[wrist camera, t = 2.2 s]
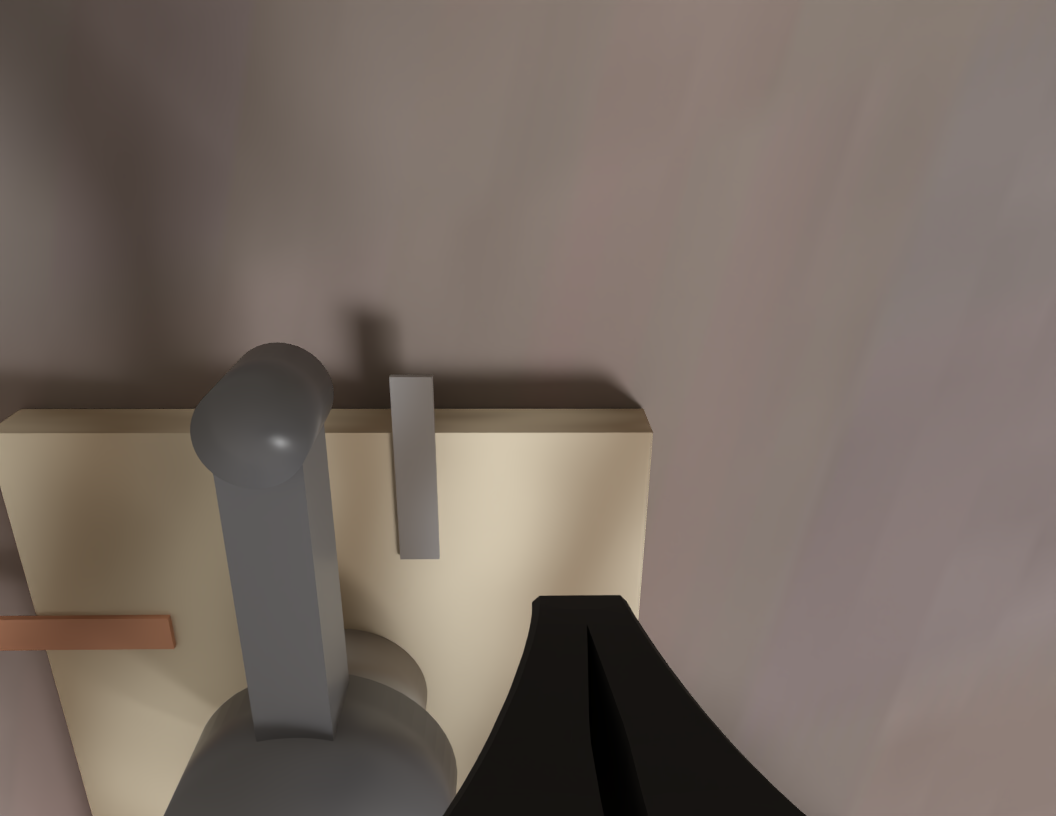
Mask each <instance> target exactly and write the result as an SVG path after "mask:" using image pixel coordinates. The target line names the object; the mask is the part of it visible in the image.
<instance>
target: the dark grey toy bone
mask: <svg viewBox="0 0 1056 816" xmlns="http://www.w3.org/2000/svg"><path fill="white" fill-rule="evenodd" d="M333 398H334V391H333V385H332V381H331V378H330V376H329V374H328V372H327V370H326V369H325V367H324V366H323V365H322V363H321V362H320V361H319V360H318V359H317V358H316V357H315V356H313V355H312V354H311V353H309V352H308V351H306V350H304V349H302V348H300V347H298V346H295V345H291V344H286V343H268V344H263V345H260V346H257V347H255V348H253V349H251V350H250V351H248V352H247V353H246V354H245V355H243V356H242V357H241V358H240V360H239V361H238V362H237V363H236V364H235V365H234V366H233V367H232V368H231V369H230V370H229V371H228V372H227V373H226V374H225V375H224V377H223V378H222V379H221V380H220V381H219V382H218V383H217V384H216V385H215V386H214V387H213V388H212V389H211V390H210V391H209V393H208V394H207V395H206V396H205V397H204V398H203V399H202V400H201V401H200V403H199V404H198V405H197V407H196V409H195V410H194V413H193V415H192V419H191V423H190V435H191V441H192V445H193V447H194V450H195V452H196V454H197V456H198V458H199V459H200V460H201V462H202V463H203V464H204V465H205V467H206V468H207V469H208V470H209V471H211V472H212V473H213V476H214V482H215V488H216V495H217V501H218V507H219V513H220V519H221V526H222V532H223V538H224V544H225V550H226V556H227V563H228V569H229V575H230V581H231V587H232V594H233V600H234V606H235V612H236V618H237V625H238V631H239V637H240V643H241V649H242V655H243V662H244V668H245V674H246V680H247V686H248V687H247V688H245V689H243V690H242V691H240V692H238V693H237V694H235V695H234V696H232V697H231V698H230V699H228V700H227V701H226V702H225V703H223V704H222V705H221V706H220V707H219V708H218V710H217V711H216V712H215V713H214V714H213V715H212V716H211V718H210V719H209V721H208V722H207V724H206V725H205V727H204V729H203V732H202V734H201V736H200V738H199V740H198V742H197V745H196V747H195V749H194V751H193V753H192V755H191V757H190V760H189V762H188V764H187V766H186V768H185V770H184V773H183V775H182V777H181V779H180V781H179V783H178V786H177V788H176V790H175V792H174V794H173V796H172V799H171V801H170V803H169V805H168V807H167V809H166V811H165V814H164V816H443V815H444V813H445V811H446V810H447V808H448V807H449V805H450V804H451V802H452V801H453V799H454V797H455V796H456V786H457V766H456V759H455V755H454V752H453V749H452V746H451V744H450V742H449V740H448V738H447V736H446V734H445V733H444V731H443V730H442V728H441V727H440V725H439V724H438V723H437V722H436V720H435V719H434V718H433V717H432V716H431V715H430V714H429V713H428V712H427V711H426V710H425V709H423V708H422V707H421V706H420V705H419V704H417V703H416V702H415V701H413V700H412V699H410V698H409V697H407V696H406V695H404V694H403V693H401V692H399V691H397V690H395V689H393V688H391V687H389V686H387V685H384V684H381V683H379V682H376V681H373V680H370V679H367V678H363V677H359V676H355V675H350V674H349V673H348V663H347V653H346V643H345V633H344V622H343V612H342V602H341V592H340V582H339V571H338V561H337V551H336V541H335V530H334V520H333V510H332V500H331V490H330V479H329V469H328V459H327V449H326V439H325V428H324V422H325V420H326V419H327V417H328V415H329V413H330V410H331V408H332V404H333Z"/></svg>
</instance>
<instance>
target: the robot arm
mask: <svg viewBox="0 0 1056 816" xmlns="http://www.w3.org/2000/svg"><path fill="white" fill-rule="evenodd" d="M443 816H806V815H805V814H804V813H802V812H801V811H800V810H799V809H798V808H797V807H796V806H795V805H794V804H792V803H791V802H790V801H789V800H788V799H787V798H786V797H785V796H784V795H783V794H782V793H781V792H779V791H778V790H777V789H776V788H775V787H774V786H773V785H772V784H771V783H770V782H769V781H768V780H767V779H766V778H765V777H764V776H763V775H762V774H761V773H760V772H759V771H758V770H757V769H756V768H755V767H754V766H753V765H752V764H751V763H750V762H749V761H748V760H747V759H746V758H745V757H744V756H743V755H742V754H741V753H740V752H739V750H738V749H737V748H736V747H735V746H734V745H733V744H732V743H731V742H730V741H729V740H728V738H727V737H726V736H725V735H724V734H723V733H722V732H721V730H720V729H719V728H718V727H717V726H716V725H715V723H714V722H713V721H712V720H711V719H710V718H709V717H708V715H707V714H706V713H705V712H704V711H703V709H702V708H701V707H700V706H699V704H698V703H697V702H696V701H695V700H694V698H693V697H692V696H691V695H690V693H689V692H688V691H687V689H686V688H685V687H684V685H683V684H682V683H681V681H680V680H679V679H678V677H677V676H676V675H675V674H674V672H673V671H672V670H671V668H670V667H669V666H668V664H667V663H666V661H665V660H664V659H663V657H662V656H661V654H660V653H659V651H658V650H657V649H656V647H655V646H654V644H653V643H652V641H651V640H650V638H649V637H648V635H647V634H646V632H645V631H644V629H643V628H642V626H641V624H640V623H639V621H638V620H637V618H636V616H635V615H634V613H633V611H632V610H631V608H630V606H629V604H628V603H627V601H626V600H625V599H624V598H623V597H622V596H621V595H549V596H539V597H537V598H536V599H535V600H534V601H533V602H532V616H531V623H530V628H529V632H528V637H527V640H526V644H525V647H524V651H523V654H522V657H521V660H520V663H519V666H518V668H517V671H516V674H515V677H514V679H513V682H512V685H511V688H510V690H509V693H508V695H507V698H506V700H505V702H504V704H503V706H502V709H501V711H500V713H499V715H498V717H497V720H496V722H495V724H494V726H493V728H492V731H491V733H490V735H489V737H488V739H487V741H486V743H485V745H484V747H483V749H482V750H481V752H480V754H479V756H478V758H477V760H476V762H475V764H474V765H473V767H472V769H471V771H470V772H469V774H468V776H467V777H466V779H465V781H464V783H463V784H462V786H461V788H460V789H459V791H458V793H457V794H456V796H455V797H454V799H453V801H452V802H451V804H450V805H449V807H448V808H447V810H446V811H445V813H444V815H443Z"/></svg>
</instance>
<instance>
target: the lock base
mask: <svg viewBox="0 0 1056 816" xmlns="http://www.w3.org/2000/svg"><path fill="white" fill-rule="evenodd" d="M389 382H390V398H391V409H331V410H330V413H329V415H328V417H327V419H326V420H325V422H324V428H325V439H326V449H327V459H328V469H329V479H330V490H331V500H332V510H333V520H334V530H335V541H336V551H337V561H338V571H339V582H340V592H341V602H342V612H343V622H344V633H345V643H346V653H347V663H348V673H349V674H350V675H355V676H359V677H363V678H367V679H370V680H373V681H376V682H379V683H381V684H384V685H387V686H389V687H391V688H393V689H395V690H397V691H399V692H401V693H403V694H404V695H406V696H407V697H409V698H410V699H412V700H413V701H415V702H416V703H417V704H419V705H420V706H421V707H422V708H423V709H425V710H426V711H427V712H428V713H429V714H430V715H431V716H432V717H433V718H434V719H435V720H436V722H437V723H438V724H439V725H440V727H441V728H442V730H443V731H444V733H445V734H446V736H447V738H448V740H449V742H450V744H451V746H452V749H453V752H454V755H455V759H456V766H457V786H456V794H457V793H458V791H459V789H460V788H461V786H462V784H463V783H464V781H465V779H466V777H467V776H468V774H469V772H470V771H471V769H472V767H473V765H474V764H475V762H476V760H477V758H478V756H479V754H480V752H481V750H482V749H483V747H484V745H485V743H486V741H487V739H488V737H489V735H490V733H491V731H492V728H493V726H494V724H495V722H496V720H497V717H498V715H499V713H500V711H501V709H502V706H503V704H504V702H505V700H506V698H507V695H508V693H509V690H510V688H511V685H512V682H513V679H514V677H515V674H516V671H517V668H518V666H519V663H520V660H521V657H522V654H523V651H524V647H525V644H526V640H527V637H528V632H529V628H530V623H531V616H532V602H533V601H534V600H535V599H536V598H537V597H539V596H549V595H621V596H622V597H623V598H624V599H625V600H626V601H627V603H628V604H629V606H630V608H631V610H632V611H633V613H634V615H635V616H636V618H637V620H638V618H639V605H640V592H641V579H642V567H643V554H644V541H645V528H646V516H647V503H648V490H649V477H650V464H651V452H652V439H653V431H652V429H651V427H650V424H649V422H648V419H647V417H646V414H645V412H644V409H434V390H433V375H390V376H389ZM194 410H195V409H20V410H19V411H17V412H16V413H14V414H13V415H11V416H10V417H8V418H7V419H6V420H4V421H3V422H1V423H0V488H1V491H2V495H3V498H4V502H5V506H6V509H7V513H8V516H9V520H10V523H11V527H12V531H13V534H14V538H15V541H16V545H17V548H18V552H19V555H20V559H21V563H22V566H23V570H24V573H25V577H26V580H27V584H28V588H29V591H30V595H31V598H32V602H33V605H34V609H35V613H36V616H0V651H4V650H46V652H47V655H48V659H49V662H50V666H51V670H52V673H53V677H54V680H55V684H56V687H57V691H58V694H59V698H60V702H61V705H62V709H63V712H64V716H65V719H66V723H67V727H68V730H69V734H70V737H71V741H72V744H73V748H74V752H75V755H76V759H77V762H78V766H79V769H80V773H81V776H82V780H83V784H84V787H85V791H86V794H87V798H88V801H89V805H90V809H91V812H92V816H164V814H165V811H166V809H167V807H168V805H169V803H170V801H171V799H172V796H173V794H174V792H175V790H176V788H177V786H178V783H179V781H180V779H181V777H182V775H183V773H184V770H185V768H186V766H187V764H188V762H189V760H190V757H191V755H192V753H193V751H194V749H195V747H196V745H197V742H198V740H199V738H200V736H201V734H202V732H203V729H204V727H205V725H206V724H207V722H208V721H209V719H210V718H211V716H212V715H213V714H214V713H215V712H216V711H217V710H218V708H219V707H220V706H221V705H222V704H223V703H225V702H226V701H227V700H228V699H230V698H231V697H232V696H234V695H235V694H237V693H238V692H240V691H242V690H243V689H245V688H247V687H248V686H247V680H246V674H245V668H244V662H243V655H242V649H241V643H240V637H239V631H238V625H237V618H236V612H235V606H234V600H233V594H232V587H231V581H230V575H229V569H228V563H227V556H226V550H225V544H224V538H223V532H222V526H221V519H220V513H219V507H218V501H217V495H216V488H215V482H214V476H213V473H212V472H211V471H209V470H208V469H207V468H206V467H205V465H204V464H203V463H202V462H201V460H200V459H199V458H198V456H197V454H196V452H195V450H194V447H193V445H192V441H191V435H190V423H191V419H192V415H193V413H194Z"/></svg>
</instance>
